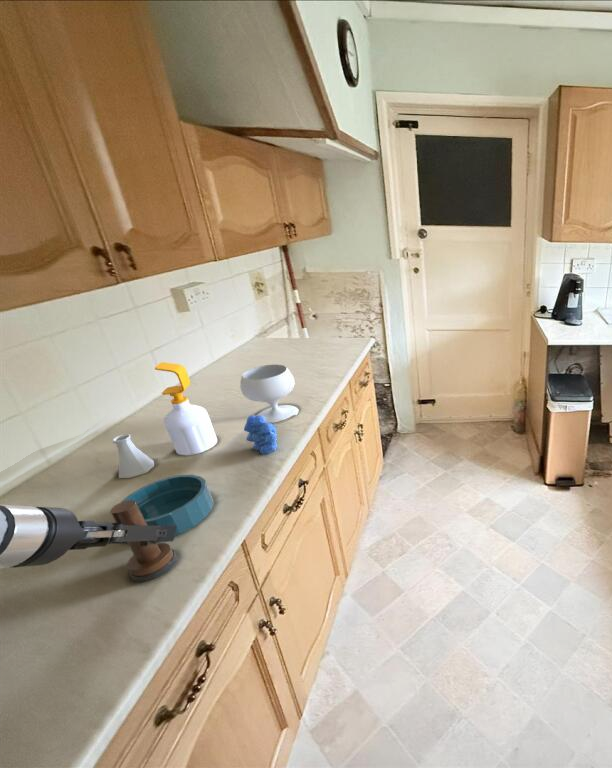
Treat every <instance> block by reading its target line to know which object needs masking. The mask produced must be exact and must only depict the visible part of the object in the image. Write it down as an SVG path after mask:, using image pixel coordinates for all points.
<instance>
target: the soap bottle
mask: <svg viewBox="0 0 612 768" xmlns="http://www.w3.org/2000/svg"><path fill="white" fill-rule="evenodd" d="M154 370H156V371H162V372H168V373H169V372H170V373H173V374H175V375H176V377H177V378H178V381H179V384H180V385H174V386H168V387H166V388H165V389H164V390H163V391H162V392H161V395H163V396H165V395H167V396H168V395H169V396H170V397H173V398H172V399H171V400H170V403H171V405H172V409H171V410H170V411H168V413H167V414H165V416H164V418H163V424H164V427H165V429H166V432H167V434H168V436H169V438H170V441H171V444H172V446H173V448H174V451H175V453H176V454H177V455H180V456H191V455H196V454H201V453H203V452H205V451H208V450H210V449H211V448H213V447H214V446H215V445H216V444H217V443H218V438H217V434H216V432H215V429H214V427H213V424H212V422H211V418H210V416H209V413H208V411H207V410H206V408H204V406H200V405H196V404H190V401H189V399H188V397H187V396H183V394H184V392H185V391H186V389H188V388H189V386H191V380H190V377H189V374H188V371H187V369H186V368H185V366H183V364H178V363H172V362H171V363H170V362H165V361H163V362H162V361H161V362H160V363H158V364H157V365H156V366H154Z"/></svg>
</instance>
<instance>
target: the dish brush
mask: <svg viewBox="0 0 612 768" xmlns="http://www.w3.org/2000/svg"><path fill="white" fill-rule="evenodd" d="M120 502H121V501H120ZM120 502H119V503H117V504H115V505H114V506H112V507H111V508H110V511H109V512H110V514H111V516H112V519H114V521H115V523H117V524H122V525H147V523H146V521H145V519H144V517H143V515H142V513H141V511H140V509H139V507H138V505H137V503H136V501H134V500H127V501H124V502H121V503H120ZM126 544H127V545H128V547H129V548H130V551H131V552H132V554H133V555H132V556H131V557H130V558H129V559H128V561H127V565H126V566H127V569H128V570H129V571H128V574H129V576H130V578H131V579H132V581H134V582H136V583H145V582H150V581H153V580H155V579H157V578H159V577H161V576H163V575H165V574H166V573H168V572H169V571H170V570H171V569H173V567H174V566H175V565H176V563H177V561H178V556H177V554H176V551H175V550H174V549H172V547H171V545H170V544H169V543H165V542H149V544H148V546H140V545H141V542H127V543H126Z"/></svg>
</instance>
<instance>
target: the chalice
mask: <svg viewBox="0 0 612 768" xmlns="http://www.w3.org/2000/svg"><path fill="white" fill-rule="evenodd" d="M295 385H296V381H295V378H294V375H293V374H292V372H291V371H290V369H289V368H288V367H287V366H285V365H284V364H283V365H282V364H266V365H259V366H256V367H253V368H250V369H248V370H246V371H245V372H243V373H242V375H241V378H240V391H241V393H242V395H243V396H244V397H245V398H246V399H247V400H250V401H253V402H258V403H266V404H268V405H269V406H270V407H268V408H266V409H264V410H262V411H260V412H258V414H257V415H260V416H263V417H265V418H266V420H265V422H269V423H276V422H281V421H284V420H286V419H289V418H290V417H292V416H297V415H298V414H299V410H300V409H299V408H298V407H297V406H294V405H289V404H288V405H287V404H285V405H284V404H283V405H279V401H280V400H281V399H283V398H284V397H286V396H288V395H289V394H290V393H291V392H292V391H293V390H294V388H295Z"/></svg>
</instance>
